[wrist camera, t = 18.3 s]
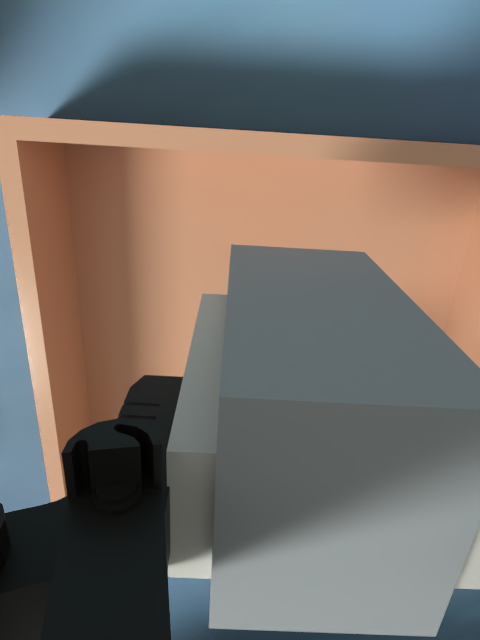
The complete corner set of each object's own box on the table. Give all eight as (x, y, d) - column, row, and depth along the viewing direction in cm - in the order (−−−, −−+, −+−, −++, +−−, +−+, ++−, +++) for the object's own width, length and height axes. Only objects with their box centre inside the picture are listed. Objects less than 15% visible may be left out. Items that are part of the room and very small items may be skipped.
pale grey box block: (340, 387, 15) (435, 636, 8) (224, 381, 15) (209, 628, 8) (364, 251, 13) (523, 412, 6) (230, 244, 13) (219, 397, 6)
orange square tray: (409, 491, 29) (440, 558, 25) (86, 477, 29) (57, 543, 24) (505, 146, 21) (582, 151, 16) (47, 118, 20) (-10, 114, 15)
